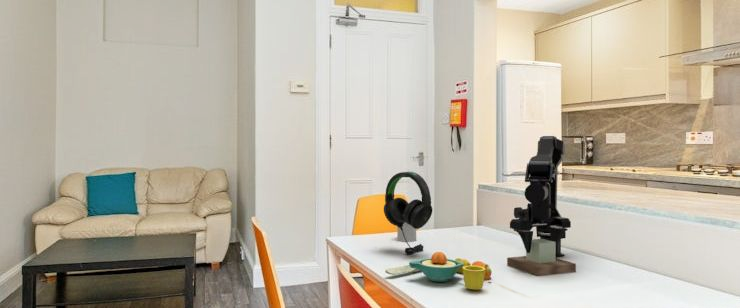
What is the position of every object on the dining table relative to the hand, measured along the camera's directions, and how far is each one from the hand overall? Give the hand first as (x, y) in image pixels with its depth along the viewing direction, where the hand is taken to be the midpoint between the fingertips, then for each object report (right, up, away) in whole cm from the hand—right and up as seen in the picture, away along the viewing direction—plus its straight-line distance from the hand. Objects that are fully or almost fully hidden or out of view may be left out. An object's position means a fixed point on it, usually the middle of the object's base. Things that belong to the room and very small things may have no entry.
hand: (540, 251), depth 146 cm
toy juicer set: (-31, -6, -8) cm, 33 cm away
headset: (-38, -6, +21) cm, 44 cm away
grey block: (-38, -6, +44) cm, 58 cm away
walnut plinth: (0, -5, 0) cm, 5 cm away
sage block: (0, -3, 0) cm, 3 cm away
